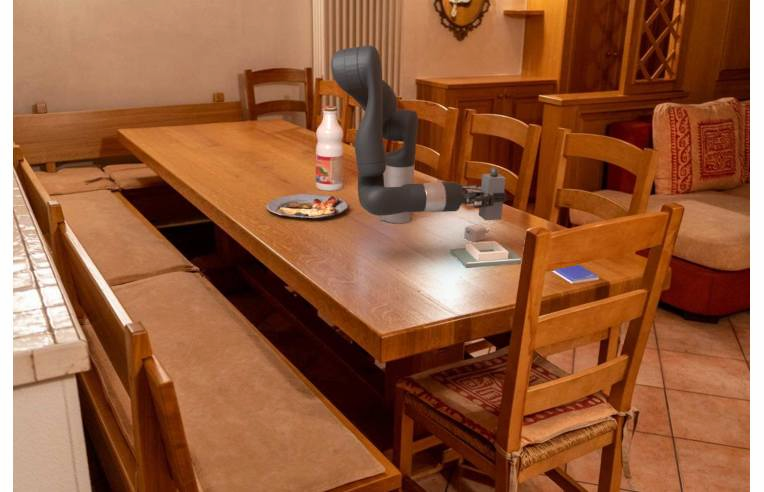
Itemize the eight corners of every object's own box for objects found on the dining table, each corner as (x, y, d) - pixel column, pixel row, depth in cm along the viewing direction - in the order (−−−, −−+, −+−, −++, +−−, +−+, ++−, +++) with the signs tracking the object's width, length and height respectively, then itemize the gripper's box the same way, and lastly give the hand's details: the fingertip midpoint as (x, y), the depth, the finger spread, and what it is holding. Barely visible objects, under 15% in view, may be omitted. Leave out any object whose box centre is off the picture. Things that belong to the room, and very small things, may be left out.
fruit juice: (344, 191, 237) (345, 109, 227) (316, 191, 235) (316, 109, 225) (341, 184, 245) (342, 104, 236) (314, 184, 244) (314, 104, 234)
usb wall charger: (463, 239, 195) (465, 226, 194) (480, 234, 200) (481, 221, 198) (474, 243, 193) (475, 229, 191) (490, 238, 197) (492, 225, 195)
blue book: (599, 275, 171) (569, 258, 181) (572, 279, 168) (543, 261, 178) (598, 281, 171) (568, 263, 182) (571, 285, 168) (542, 267, 179)
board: (465, 267, 175) (466, 256, 174) (450, 252, 185) (451, 241, 184) (522, 263, 179) (524, 252, 178) (504, 248, 189) (506, 238, 188)
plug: (485, 220, 176) (490, 170, 171) (478, 215, 180) (483, 166, 175) (502, 219, 177) (507, 170, 172) (495, 214, 181) (500, 165, 176)
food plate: (356, 203, 224) (356, 193, 223) (337, 226, 202) (337, 215, 201) (283, 198, 229) (282, 188, 227) (257, 220, 207) (256, 209, 206)
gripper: (450, 190, 165) (515, 187, 169) (430, 175, 177) (492, 173, 182) (448, 220, 167) (512, 216, 172) (429, 203, 180) (489, 200, 184)
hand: (501, 194), depth 177 cm, fingers closed on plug, 4 cm apart
